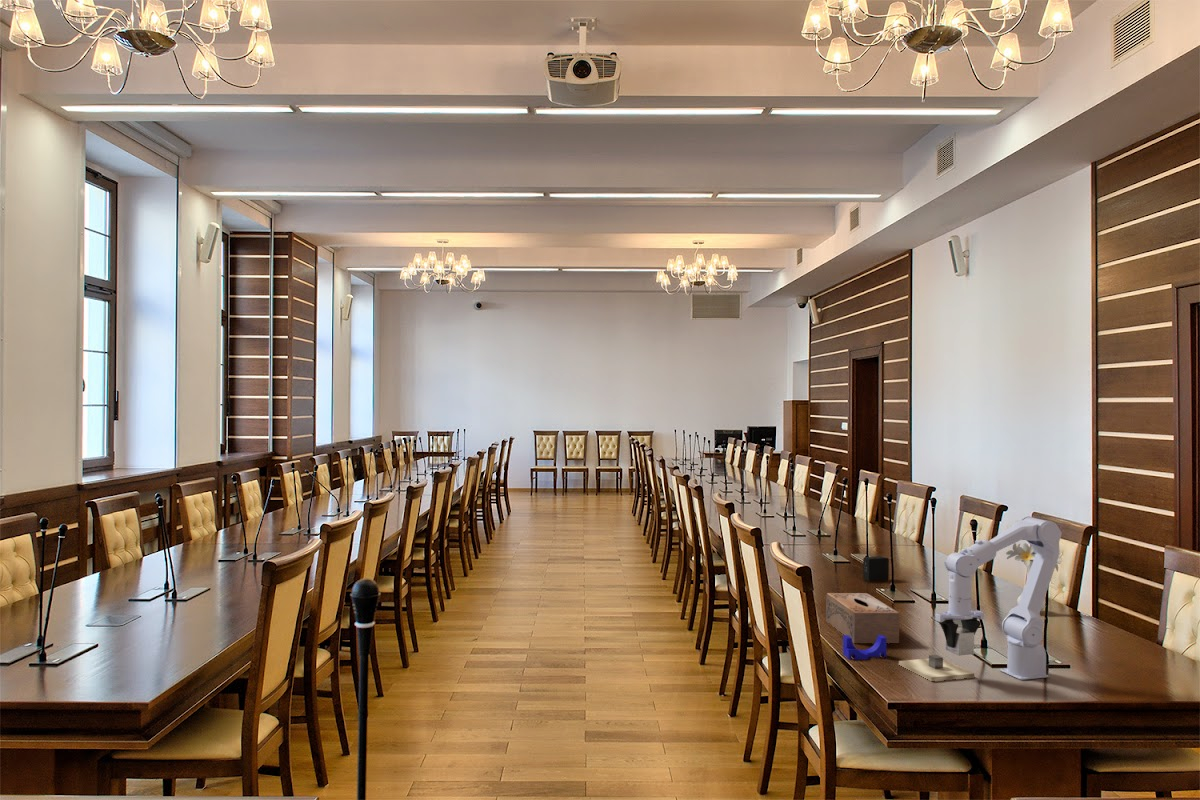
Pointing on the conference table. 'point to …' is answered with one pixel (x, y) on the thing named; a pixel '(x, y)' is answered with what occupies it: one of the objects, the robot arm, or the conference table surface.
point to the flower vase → (1027, 560)
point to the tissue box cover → (862, 617)
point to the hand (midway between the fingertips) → (959, 646)
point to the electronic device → (876, 568)
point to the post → (935, 661)
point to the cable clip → (874, 651)
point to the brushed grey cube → (963, 642)
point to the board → (936, 670)
